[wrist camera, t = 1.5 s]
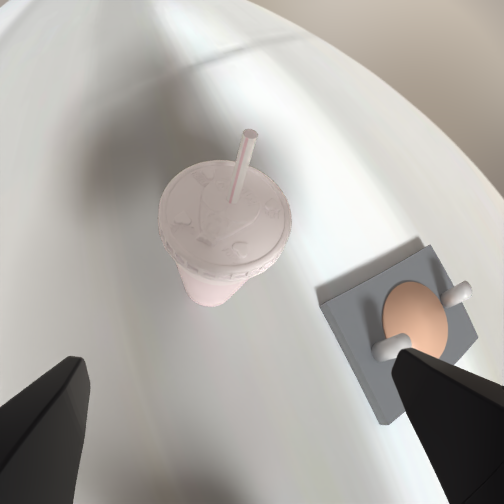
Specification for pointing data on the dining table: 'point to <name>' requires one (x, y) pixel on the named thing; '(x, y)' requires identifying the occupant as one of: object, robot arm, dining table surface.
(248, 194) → the smoothie
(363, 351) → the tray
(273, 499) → the dining table surface
